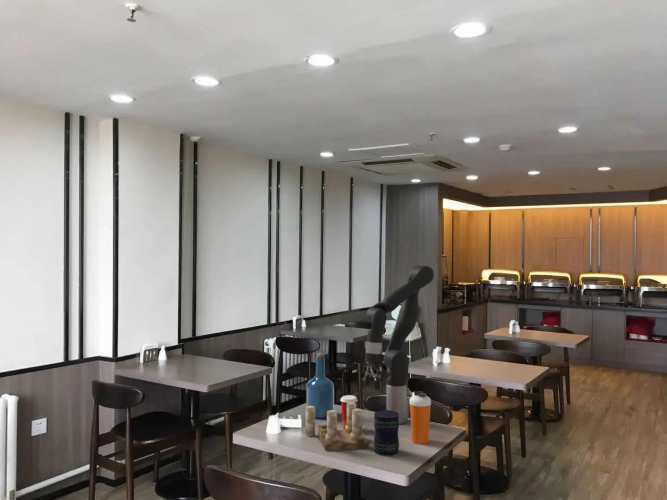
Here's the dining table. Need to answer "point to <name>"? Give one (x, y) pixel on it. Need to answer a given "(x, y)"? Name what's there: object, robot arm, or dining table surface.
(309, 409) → the leg
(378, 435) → the storage jar
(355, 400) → the paper cup
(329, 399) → the wine bottle
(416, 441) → the shaker bottle
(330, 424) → the stool
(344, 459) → the dining table surface
